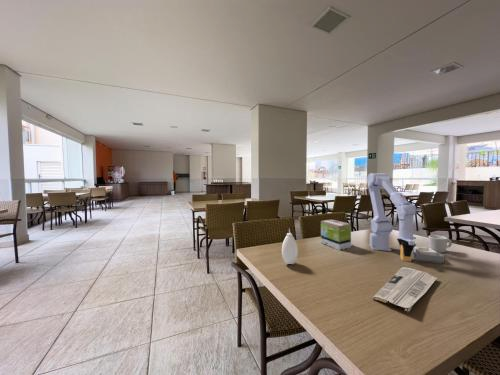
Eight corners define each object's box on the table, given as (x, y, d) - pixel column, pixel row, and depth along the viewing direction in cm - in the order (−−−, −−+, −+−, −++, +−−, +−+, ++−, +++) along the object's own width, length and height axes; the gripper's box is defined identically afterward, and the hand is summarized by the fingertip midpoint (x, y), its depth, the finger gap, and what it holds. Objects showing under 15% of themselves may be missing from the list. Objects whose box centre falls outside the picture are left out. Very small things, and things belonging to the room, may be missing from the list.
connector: (402, 260, 104) (403, 245, 103) (400, 257, 107) (400, 243, 107) (411, 261, 103) (411, 245, 102) (408, 258, 106) (408, 243, 105)
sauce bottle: (298, 268, 98) (297, 230, 97) (281, 267, 100) (280, 230, 99) (297, 261, 106) (297, 226, 105) (282, 260, 107) (281, 226, 106)
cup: (445, 248, 118) (445, 234, 118) (457, 254, 110) (457, 239, 110) (424, 248, 119) (424, 234, 119) (435, 253, 111) (435, 239, 111)
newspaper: (400, 270, 94) (401, 263, 94) (437, 280, 84) (437, 272, 84) (370, 302, 71) (370, 292, 71) (416, 321, 62) (416, 310, 61)
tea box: (320, 243, 133) (320, 220, 132) (331, 241, 137) (331, 218, 136) (339, 250, 119) (339, 225, 119) (351, 247, 124) (351, 223, 123)
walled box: (416, 261, 103) (416, 252, 102) (407, 253, 113) (407, 245, 113) (443, 263, 99) (444, 254, 99) (432, 255, 109) (432, 246, 109)
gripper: (422, 232, 96) (422, 261, 96) (409, 225, 110) (409, 250, 110) (404, 231, 98) (404, 259, 99) (394, 224, 112) (393, 249, 112)
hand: (405, 254), depth 105 cm, fingers closed on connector, 3 cm apart
